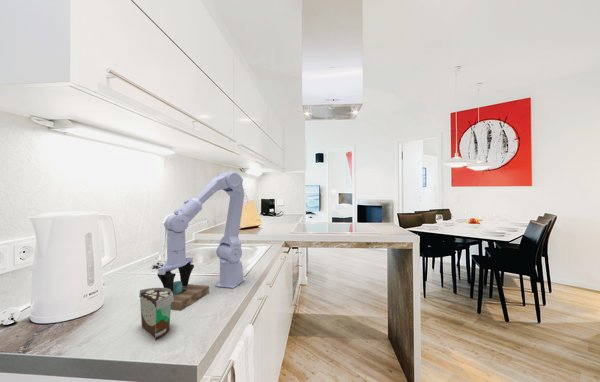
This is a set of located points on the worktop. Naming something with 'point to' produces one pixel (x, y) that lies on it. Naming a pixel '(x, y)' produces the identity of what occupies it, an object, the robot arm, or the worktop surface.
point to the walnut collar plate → (189, 296)
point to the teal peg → (177, 287)
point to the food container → (156, 311)
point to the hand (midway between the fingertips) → (176, 289)
